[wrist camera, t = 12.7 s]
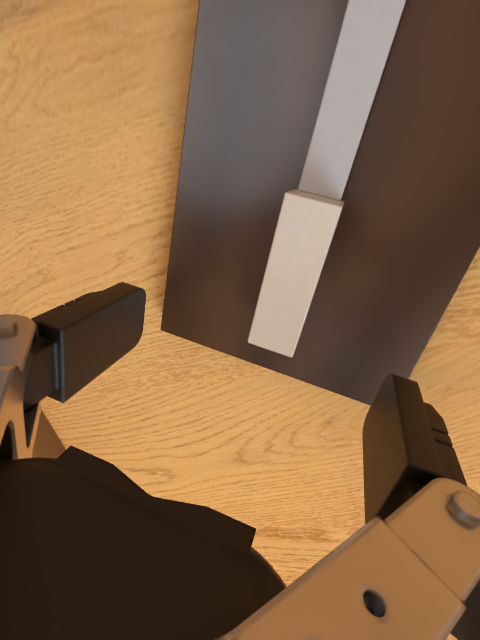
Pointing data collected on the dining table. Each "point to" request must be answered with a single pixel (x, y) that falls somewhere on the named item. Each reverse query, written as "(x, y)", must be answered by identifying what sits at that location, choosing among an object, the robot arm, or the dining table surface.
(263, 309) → the knife
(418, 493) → the robot arm
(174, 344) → the dining table surface
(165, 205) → the dining table surface
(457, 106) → the cutting board
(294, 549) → the dining table surface
